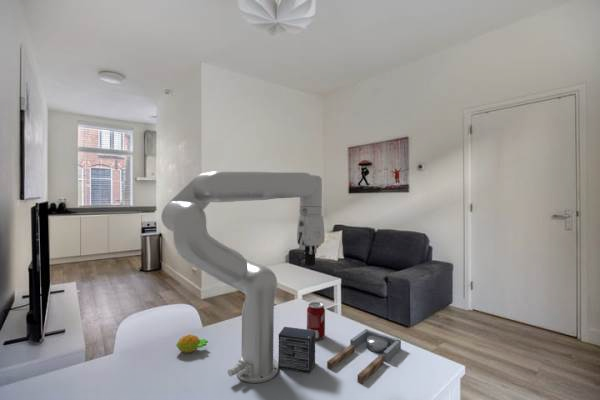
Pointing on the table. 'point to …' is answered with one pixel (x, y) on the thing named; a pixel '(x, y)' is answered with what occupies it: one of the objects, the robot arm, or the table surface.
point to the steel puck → (377, 344)
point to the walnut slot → (364, 373)
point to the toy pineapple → (190, 343)
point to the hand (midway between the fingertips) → (310, 265)
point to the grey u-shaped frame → (393, 343)
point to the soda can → (316, 319)
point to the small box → (297, 349)
